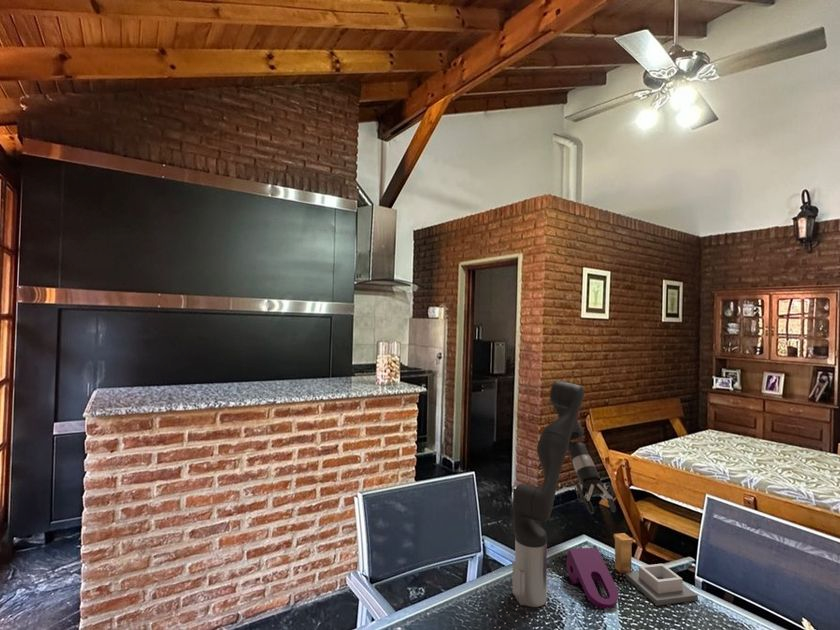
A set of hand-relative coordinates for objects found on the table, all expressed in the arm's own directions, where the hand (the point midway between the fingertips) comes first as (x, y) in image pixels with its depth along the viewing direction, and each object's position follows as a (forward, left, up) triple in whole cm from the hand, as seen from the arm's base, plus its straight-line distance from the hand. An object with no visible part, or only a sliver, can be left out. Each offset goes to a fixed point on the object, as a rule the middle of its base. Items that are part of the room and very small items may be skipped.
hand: (603, 512), depth 156 cm
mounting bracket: (-16, -19, -15) cm, 29 cm away
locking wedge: (0, -11, -15) cm, 18 cm away
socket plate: (+5, -22, -15) cm, 27 cm away
